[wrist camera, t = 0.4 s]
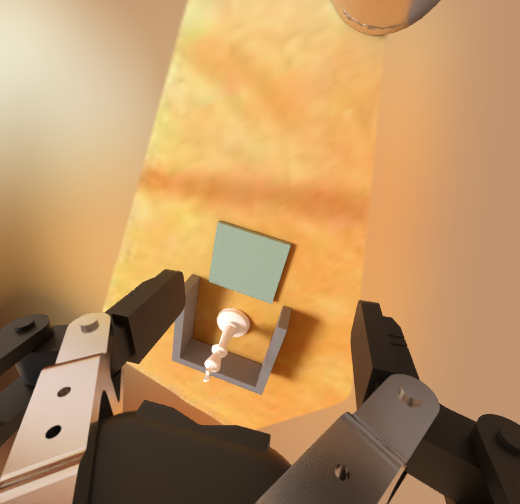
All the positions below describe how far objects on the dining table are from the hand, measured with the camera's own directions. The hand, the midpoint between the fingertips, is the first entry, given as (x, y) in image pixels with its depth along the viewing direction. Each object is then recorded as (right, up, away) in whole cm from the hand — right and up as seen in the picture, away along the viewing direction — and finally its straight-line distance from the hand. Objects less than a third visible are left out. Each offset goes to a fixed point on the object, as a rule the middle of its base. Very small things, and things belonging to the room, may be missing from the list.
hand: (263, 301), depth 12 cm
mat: (-2, +1, +21) cm, 21 cm away
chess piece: (-4, -8, +27) cm, 28 cm away
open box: (-4, -8, +27) cm, 28 cm away
